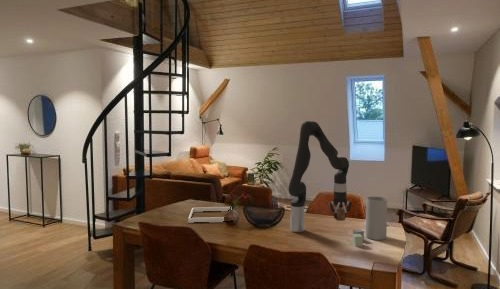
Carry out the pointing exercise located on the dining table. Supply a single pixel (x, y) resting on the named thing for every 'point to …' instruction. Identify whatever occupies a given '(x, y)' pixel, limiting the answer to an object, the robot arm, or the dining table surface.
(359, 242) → the sage block
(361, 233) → the grey block
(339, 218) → the walnut block
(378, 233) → the cylinder vase
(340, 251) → the dining table surface
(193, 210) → the white square frame
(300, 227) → the robot arm
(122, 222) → the dining table surface
